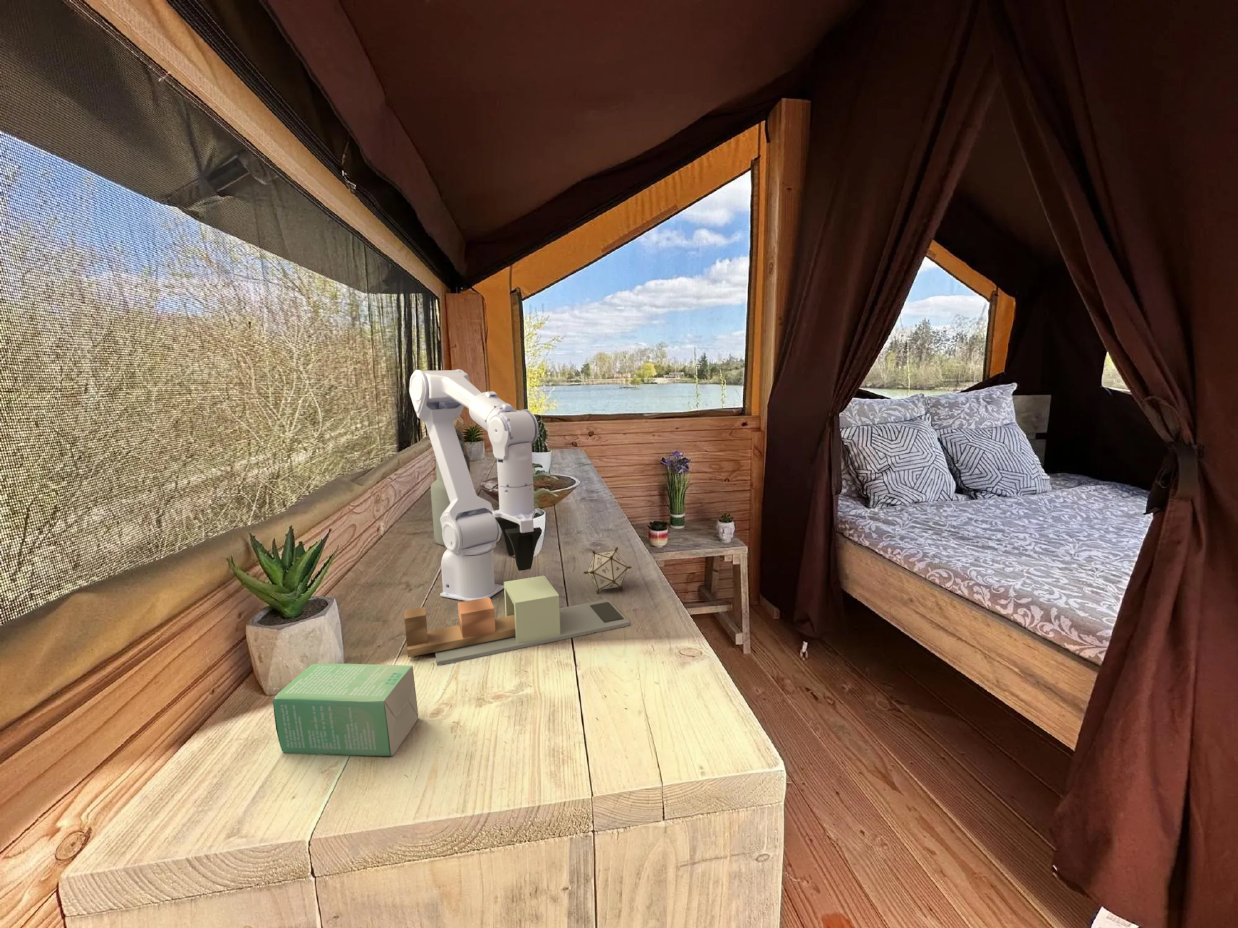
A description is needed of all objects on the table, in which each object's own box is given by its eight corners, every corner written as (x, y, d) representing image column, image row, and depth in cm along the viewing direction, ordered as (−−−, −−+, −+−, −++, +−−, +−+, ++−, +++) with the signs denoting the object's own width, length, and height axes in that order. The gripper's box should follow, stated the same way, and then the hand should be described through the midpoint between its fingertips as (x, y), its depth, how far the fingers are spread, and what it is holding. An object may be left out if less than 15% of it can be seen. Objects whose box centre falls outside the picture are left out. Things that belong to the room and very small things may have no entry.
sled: (407, 657, 81) (404, 621, 80) (406, 641, 85) (403, 607, 84) (545, 629, 89) (544, 597, 88) (537, 617, 93) (536, 585, 92)
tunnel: (517, 647, 85) (515, 602, 84) (505, 622, 93) (503, 581, 92) (560, 638, 88) (559, 595, 86) (545, 615, 96) (544, 575, 94)
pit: (604, 622, 92) (604, 621, 91) (590, 606, 98) (590, 605, 98) (623, 618, 93) (623, 617, 93) (608, 602, 99) (608, 601, 99)
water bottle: (445, 533, 143) (438, 427, 138) (481, 534, 142) (475, 427, 137) (427, 546, 133) (418, 432, 128) (465, 547, 132) (458, 432, 127)
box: (316, 713, 69) (310, 659, 68) (419, 717, 68) (415, 663, 67) (277, 754, 62) (269, 695, 61) (391, 760, 61) (386, 700, 60)
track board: (437, 665, 80) (436, 661, 80) (431, 635, 89) (431, 631, 89) (629, 625, 92) (629, 622, 92) (607, 602, 101) (607, 599, 101)
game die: (614, 610, 106) (624, 583, 99) (574, 592, 107) (581, 564, 100) (630, 574, 112) (640, 547, 105) (592, 558, 113) (600, 529, 106)
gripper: (484, 478, 95) (488, 552, 98) (499, 495, 82) (504, 580, 85) (523, 474, 98) (527, 546, 100) (545, 490, 85) (548, 573, 87)
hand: (519, 561), depth 93 cm, fingers open, 7 cm apart
